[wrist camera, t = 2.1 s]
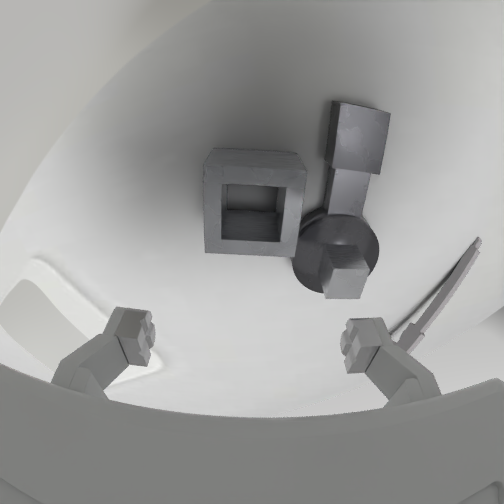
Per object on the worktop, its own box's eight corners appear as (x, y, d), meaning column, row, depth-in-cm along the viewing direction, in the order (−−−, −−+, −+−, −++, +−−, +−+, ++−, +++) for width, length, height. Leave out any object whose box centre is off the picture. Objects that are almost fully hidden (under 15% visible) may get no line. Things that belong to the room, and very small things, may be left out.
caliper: (377, 347, 36) (389, 383, 31) (372, 345, 36) (384, 382, 30) (479, 238, 26) (508, 269, 21) (476, 234, 26) (506, 265, 21)
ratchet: (358, 278, 29) (375, 319, 24) (284, 276, 29) (290, 319, 24) (398, 114, 20) (437, 128, 15) (307, 96, 19) (326, 101, 14)
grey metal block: (213, 148, 22) (203, 165, 17) (296, 152, 22) (307, 171, 18) (212, 221, 25) (204, 252, 21) (287, 225, 25) (294, 257, 21)
